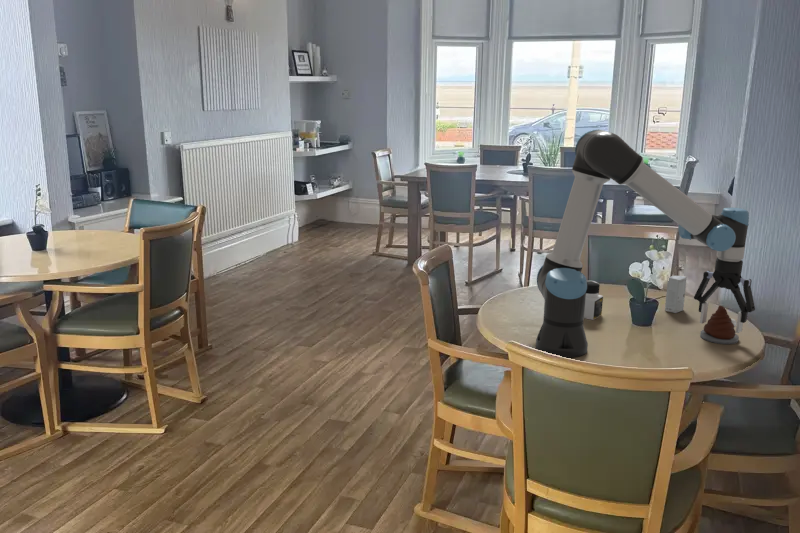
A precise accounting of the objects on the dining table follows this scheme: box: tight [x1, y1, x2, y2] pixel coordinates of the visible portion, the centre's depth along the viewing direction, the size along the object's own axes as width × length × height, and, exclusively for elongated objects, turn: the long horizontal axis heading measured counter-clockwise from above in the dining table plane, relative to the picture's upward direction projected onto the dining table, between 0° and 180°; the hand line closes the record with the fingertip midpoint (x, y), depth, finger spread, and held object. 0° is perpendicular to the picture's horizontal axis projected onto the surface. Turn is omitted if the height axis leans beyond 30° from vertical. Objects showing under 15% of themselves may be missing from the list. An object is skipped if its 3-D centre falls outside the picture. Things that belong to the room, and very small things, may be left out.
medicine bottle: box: [584, 280, 604, 321], centre depth 238 cm, size 7×7×12 cm
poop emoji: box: [703, 304, 737, 339], centre depth 218 cm, size 10×8×9 cm
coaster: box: [699, 329, 739, 345], centre depth 219 cm, size 11×11×1 cm
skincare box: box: [664, 274, 687, 314], centre depth 245 cm, size 6×4×12 cm
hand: (720, 327), depth 219 cm, fingers open, 11 cm apart
